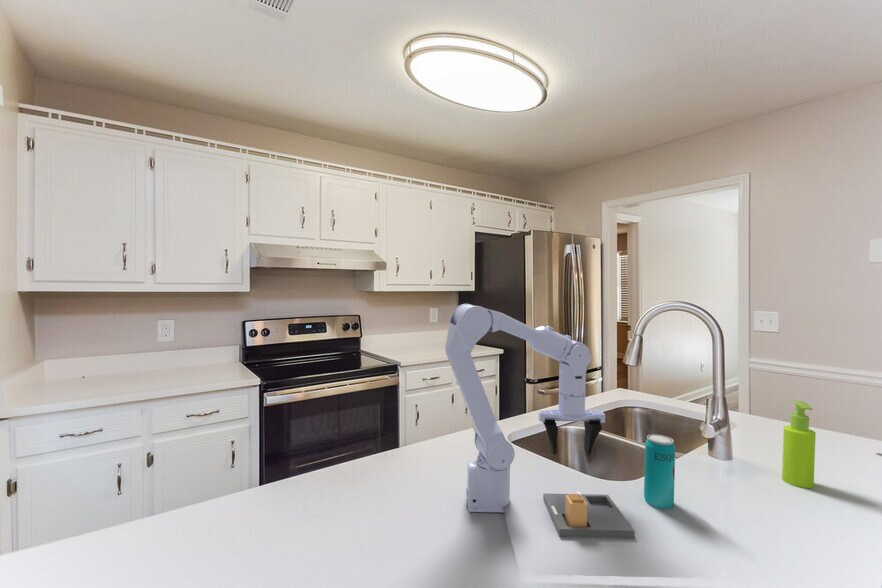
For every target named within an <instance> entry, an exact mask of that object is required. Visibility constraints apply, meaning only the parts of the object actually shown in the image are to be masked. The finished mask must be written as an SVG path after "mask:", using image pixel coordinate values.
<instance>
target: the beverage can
mask: <svg viewBox="0 0 882 588" xmlns="http://www.w3.org/2000/svg"><path fill="white" fill-rule="evenodd" d="M674 443H675V441H674V439H673V438H671V437H670V436H667V435H663V434H658V433H657V434H655V433H654V434H653V433H652V434H648V435H647V436H646V441H645V443H644V446H645V448H644V478H643V480H644V483H643V484H644V485H643V486H644V487H643V497H644V500H645V502H646V503H647V504H648V505H650V506H652V507H654V508H657V509H660V510H661V509H662V510H667V509H668V510H669V509H671V508H673V506H674V503H675V480H676V479H675V472H676V470H675V469H676V446H675V444H674Z"/></svg>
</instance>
